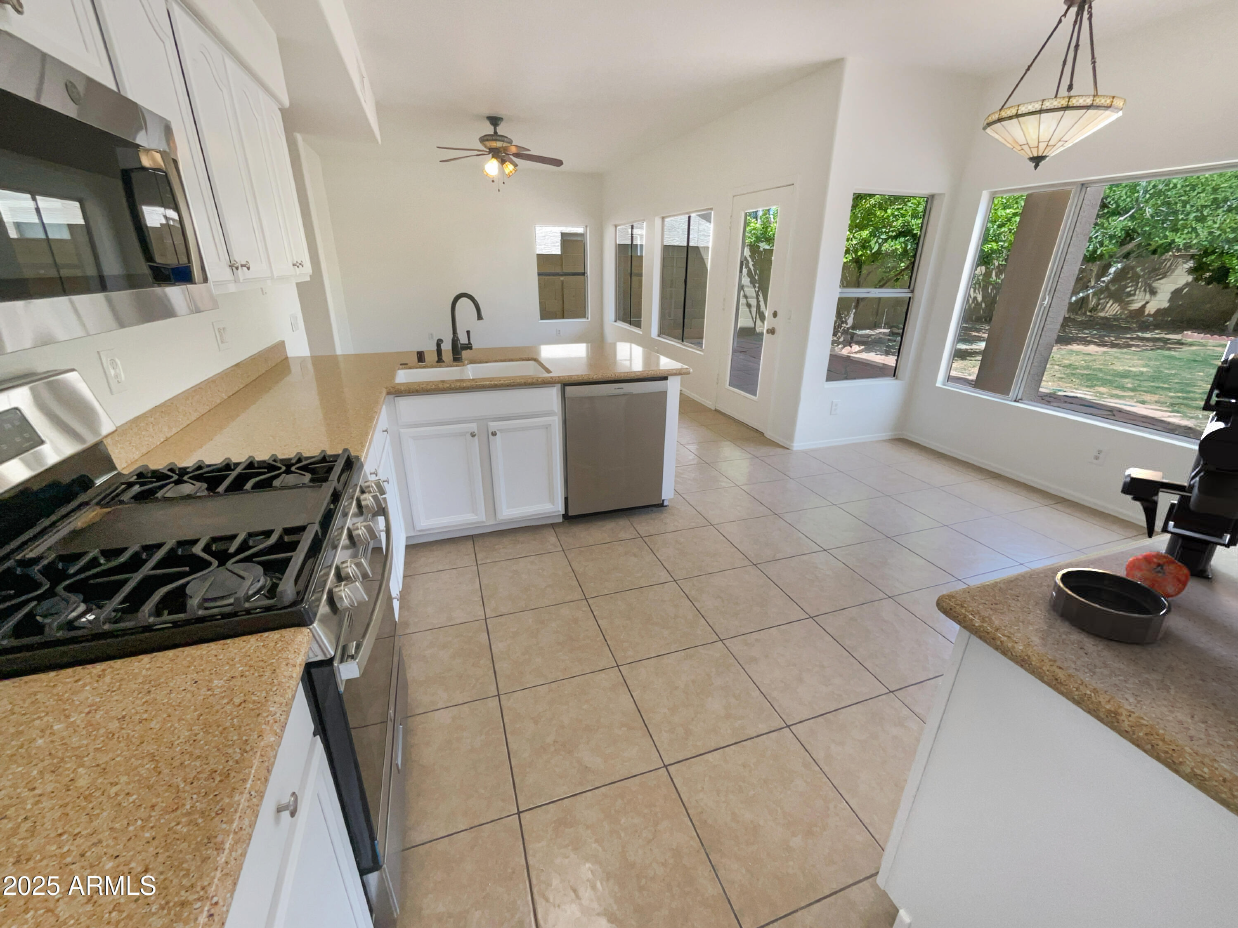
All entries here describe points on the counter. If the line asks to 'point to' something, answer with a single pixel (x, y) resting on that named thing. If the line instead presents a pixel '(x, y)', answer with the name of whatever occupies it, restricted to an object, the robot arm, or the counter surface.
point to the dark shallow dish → (1110, 605)
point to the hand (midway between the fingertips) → (1193, 546)
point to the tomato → (1159, 573)
